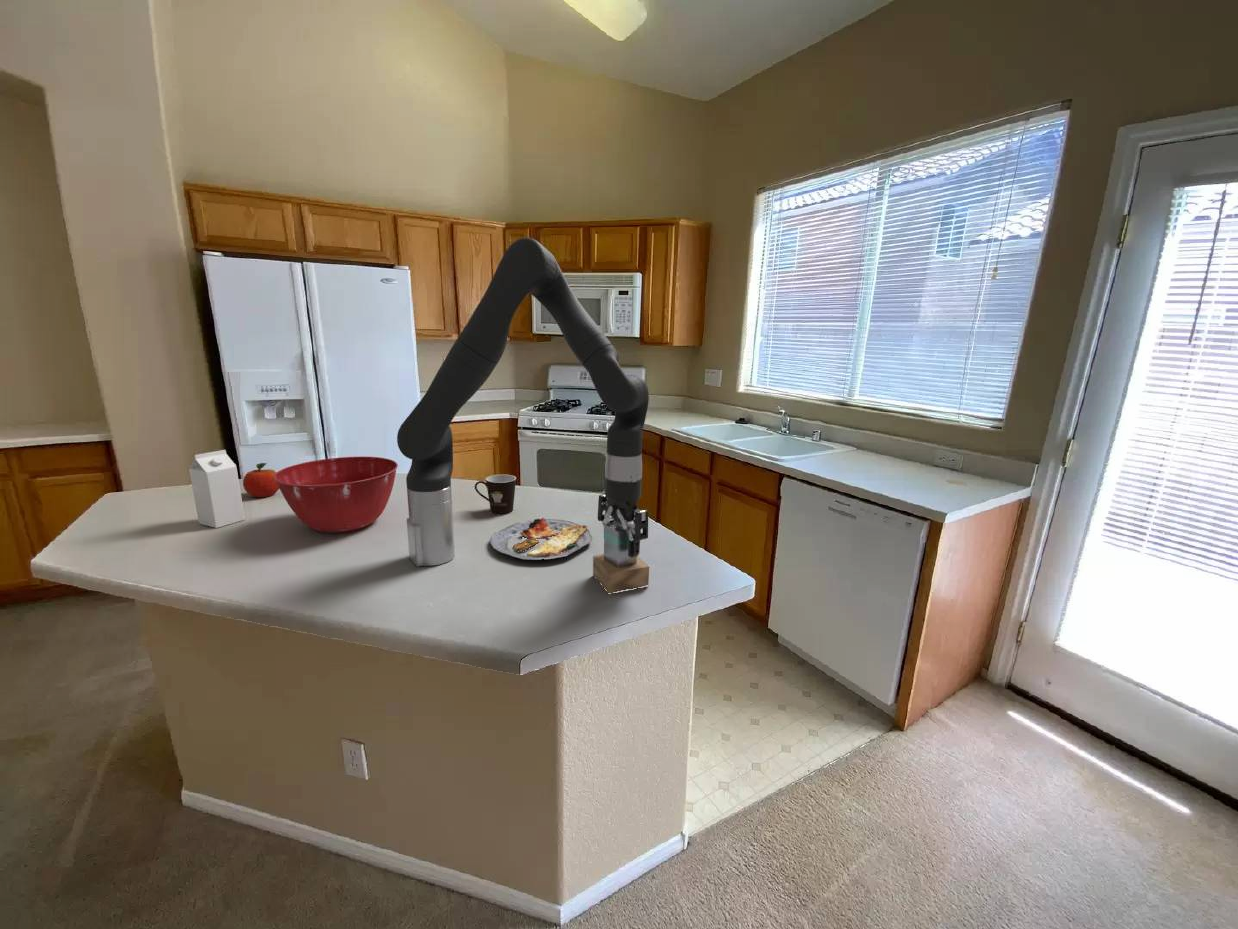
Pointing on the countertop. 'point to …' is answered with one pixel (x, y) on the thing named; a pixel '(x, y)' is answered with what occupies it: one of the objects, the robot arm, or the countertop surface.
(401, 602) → the countertop surface
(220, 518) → the milk carton
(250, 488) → the fruit
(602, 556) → the tan block
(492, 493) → the coffee mug
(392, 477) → the mixing bowl
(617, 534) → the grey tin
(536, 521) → the food plate
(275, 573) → the countertop surface
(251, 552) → the countertop surface
